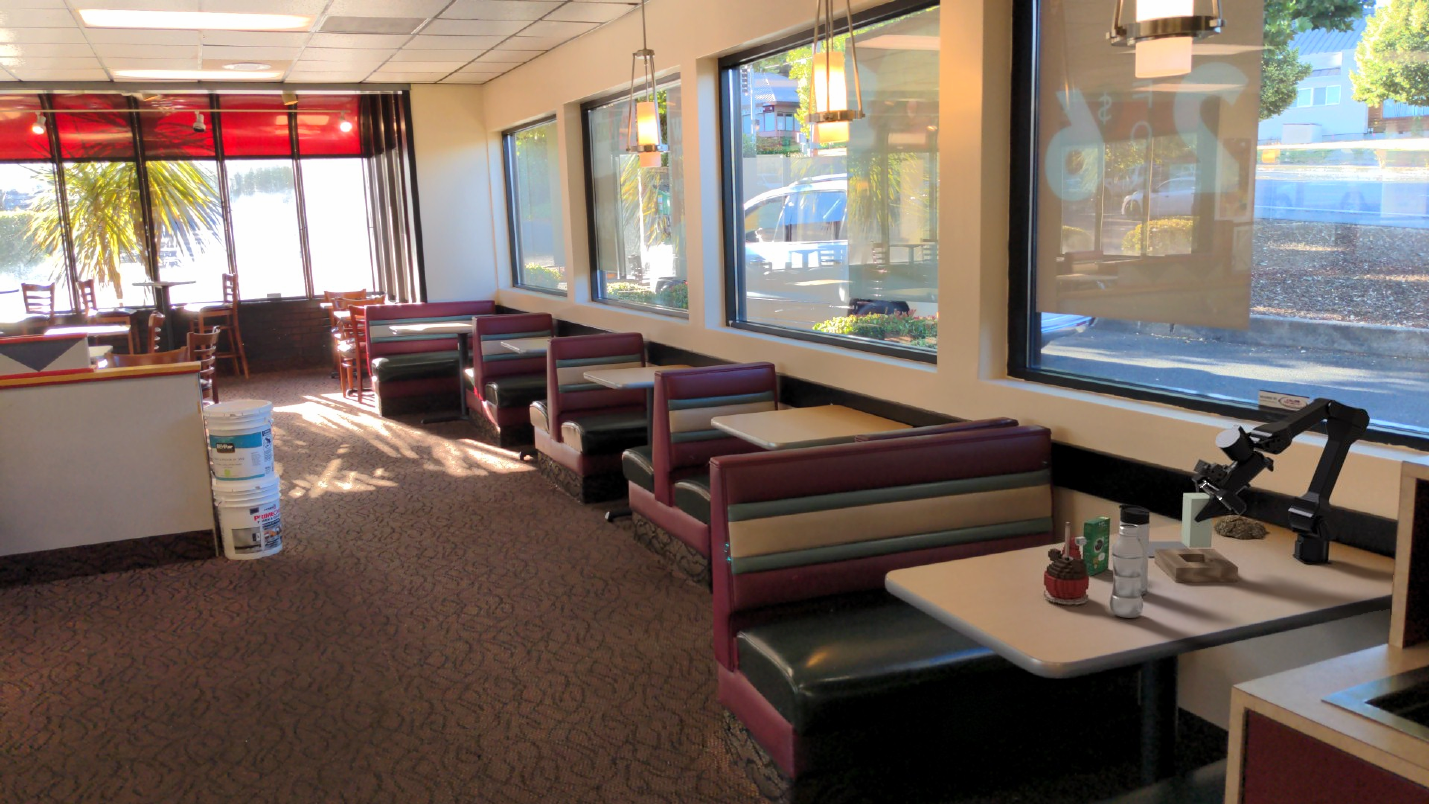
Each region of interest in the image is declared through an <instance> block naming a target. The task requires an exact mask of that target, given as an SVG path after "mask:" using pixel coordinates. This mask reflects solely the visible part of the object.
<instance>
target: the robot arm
mask: <svg viewBox="0 0 1429 804" xmlns="http://www.w3.org/2000/svg"><path fill="white" fill-rule="evenodd" d="M1324 420H1326V422H1325V430H1326V434H1327V440H1326V443H1325V445H1324V448H1323V451H1322V453H1321V454H1320V458H1319V461H1318V462H1317V466H1316V468H1315V471H1314V473H1313V476H1312V479H1311V481H1310V483H1309V485H1308V488H1307V491H1306V492H1305V493H1304V494H1303V495H1302V496H1295V497H1294V498H1293V499H1292V503H1291V505H1290V507H1289V509H1288V510H1287V512H1288V515H1287V516H1288V517H1287V519H1288V521H1289V524H1290V529H1291V533H1293V534H1297V535H1296V539H1295V541H1294V550H1293V554H1292V557H1293V558H1295V559H1297V561H1300V562H1301V563H1303V564H1306V565H1308V564H1310V565H1313V564H1314V565H1318V564H1319V565H1321V564H1323V565H1325V564H1329V565H1330V564H1331V565H1332V564H1333V561H1332V560H1330V559H1329V557H1330V555H1329V554H1330V544H1331V543H1330V542H1332V541H1335V540H1336V539H1337V536H1338V534H1339V530H1338V529H1337V528H1336V526H1335V525H1334V524H1333V523H1332V521H1331V516H1332V513H1333V512H1332V507H1331V503H1330V499H1331V496H1332V494H1333V491H1334V489H1335V486H1336V483H1337V480H1338V478H1339V476H1340V474H1341V471H1342V469H1343V465H1344V463H1345V461H1346V458H1347V457H1348V453H1349V451H1350V448H1351V446H1352V445H1353V444H1354V443H1355V442H1356V441H1358V440H1359V439H1360V438H1362V437H1363V436H1364V434H1365V432H1366V430H1367V428H1368V427H1369V425H1370V422H1371V417H1370V416H1369V413H1368V411H1367V410H1366V409H1365V408H1361V407H1355V406H1349V405H1347V404H1344V403H1341V402H1339V401H1337V400H1335V399H1332V398H1331V399H1330V398H1326V397H1317V398H1314V399H1313V400H1312V401H1311V403H1308V404H1307V405H1306V406H1304V407H1302V408H1300V409H1298V410H1297V411H1295V412H1293V413H1291V414H1289V415H1288V416H1285V417H1284V418H1282V419H1281V420H1279V421H1275V422H1267V423H1264V424H1261V425H1258V426H1255V427H1254V428H1253V429H1252V430H1250V431H1249V432H1246V431H1245V429H1244V427H1242V426H1241V425H1238V424H1233V425H1232V427H1230V428H1227V429H1225V430H1223V431H1221V432H1220V433H1218V434H1217V436H1216V438H1215V441H1214V442H1215V445H1216V446H1217V447H1218V448H1219V450H1221V451H1222V453H1224V455H1225V456H1226V457H1227V458H1228V459H1229V460H1230V461H1232V462H1231V463H1230V464H1229V465H1228V464H1223V465H1221V464H1220V463H1217V462H1213V463H1210V462H1207V461H1206V460H1203V459H1200V458H1199V459H1198V460H1197V462H1196V465H1195V466H1194V468H1193V469H1192V470H1193V472H1196V474H1195V475H1193V476H1192V477H1191V480H1192V481H1193V482H1194V486H1195V493H1206V494H1208V495H1209V496H1210V497H1209V502H1208V503H1207V504H1206V505H1205V507H1204V508H1203V509H1202V510H1201V511H1200V512H1199V513H1198V515H1197V516H1196V517H1195V519H1194V520H1195V521H1196V522H1201V521H1204V520H1207V519H1210V518H1213V519H1214V518H1216V517H1221V516H1225V515H1228V514H1229V515H1231V514H1232V513H1235V514H1236V515H1240V516H1241V515H1242V514H1244V513H1245V511H1246V510H1247V503H1245V501H1244V500H1242V498H1241V497H1240V496H1239V495H1238V493H1239V492H1241V491H1242V490H1243V489H1244V488H1247V489H1250V487H1251V486H1252V484H1251V482H1252V480H1253V479H1255V478H1256V477H1257V476H1258V475H1260V473H1262V471H1264V470H1265V469H1266V470H1267V471H1269V472H1271V473H1273V472H1274V469H1275V466H1274V463H1275V460H1274V459H1272V458H1271V457H1270V456H1266V455H1265V454H1264V453H1266V454H1269V455H1274V456H1275V455H1276V456H1277V455H1280V454H1282V453H1283V452H1285V450H1287V449H1288V448H1289V447H1291V445H1292V443H1293V439H1294V438H1296V437H1297V436H1299V435H1300V434H1302V433H1304V432H1307V431H1308V430H1310V429H1311V428H1312V427H1315V426H1316V425H1318V424H1319V423H1321V422H1323V421H1324ZM1232 509H1233V511H1232Z"/></svg>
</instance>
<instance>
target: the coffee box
mask: <svg viewBox="0 0 1429 804" xmlns="http://www.w3.org/2000/svg"><path fill="white" fill-rule="evenodd" d="M1082 530H1083V533H1082V537H1085V539H1086V544H1085V545H1082V555H1081V559H1084V562H1085V563H1086V570H1087V574H1088V575H1090V576H1093V575H1094V576H1095V575H1097V574H1098V573H1099V574H1100V573H1101V572H1105V571H1106V570H1109V562H1110V561H1109V559H1110V558H1109V557H1110V556H1109V555H1110V535H1111V534H1110V531H1111V517H1108V516H1102V515H1101V516H1097V517H1094V518H1092V519H1089V520H1085V521H1083V529H1082ZM1090 576H1089V577H1090Z"/></svg>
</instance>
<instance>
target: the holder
mask: <svg viewBox="0 0 1429 804" xmlns="http://www.w3.org/2000/svg"><path fill="white" fill-rule="evenodd" d="M1154 564H1155V565H1156V566H1157V567H1158V568H1159V569H1160V570H1161V571H1162V572H1164V573H1165V574H1166V575H1167V574H1168V575H1167V576H1168V577H1169V578H1170V577H1171V578H1170V579H1171V580H1172V581H1174V582H1175V583H1215V582H1216V583H1221V582H1222V583H1227V582H1228V583H1229V582H1233V583H1235V582H1238V580H1239V579H1238V577H1239V575H1238V574H1239V567H1238V565H1236V564H1234V563H1233V562H1232V561H1230V560H1229V559H1228V558H1226V557H1225V556H1224V555H1223V554H1222V553H1220V552H1219V551H1217V550H1216V549H1215V548H1189V549H1155V558H1154Z"/></svg>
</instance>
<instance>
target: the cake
mask: <svg viewBox="0 0 1429 804" xmlns="http://www.w3.org/2000/svg"><path fill="white" fill-rule="evenodd" d="M1070 532H1071V522H1069V521H1066V522H1065V531H1064V533H1065V534H1064V546H1063V547H1062V549H1061V550H1060V549H1058V548H1056V547H1054V548H1050V549H1049V550H1048V551H1047V557H1048V558H1049V561H1051V563H1049V564H1048V565H1047V566H1046V570H1044V573H1043V586H1045V590H1044V591H1043V597H1044V598H1046V599H1045V600H1047V599H1048V600H1047V601H1049V600H1051V601H1050V602H1052V601H1053V602H1052V603H1057V602H1058V604H1059V603H1062V604H1063V603H1064V604H1063V605H1073V604H1074V605H1081V604H1086V602H1088V601H1089V594H1087V590H1089V586H1090V576H1089V575H1088V574H1087V570H1086V563H1085V562H1084V559H1082V555H1083V553H1082V554H1081V551H1082V550H1080V549H1081V547H1083V545H1085V544H1086V539H1085V537H1083V536H1075V537H1072V538H1070V537H1071V535H1070V534H1071V533H1070Z"/></svg>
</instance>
